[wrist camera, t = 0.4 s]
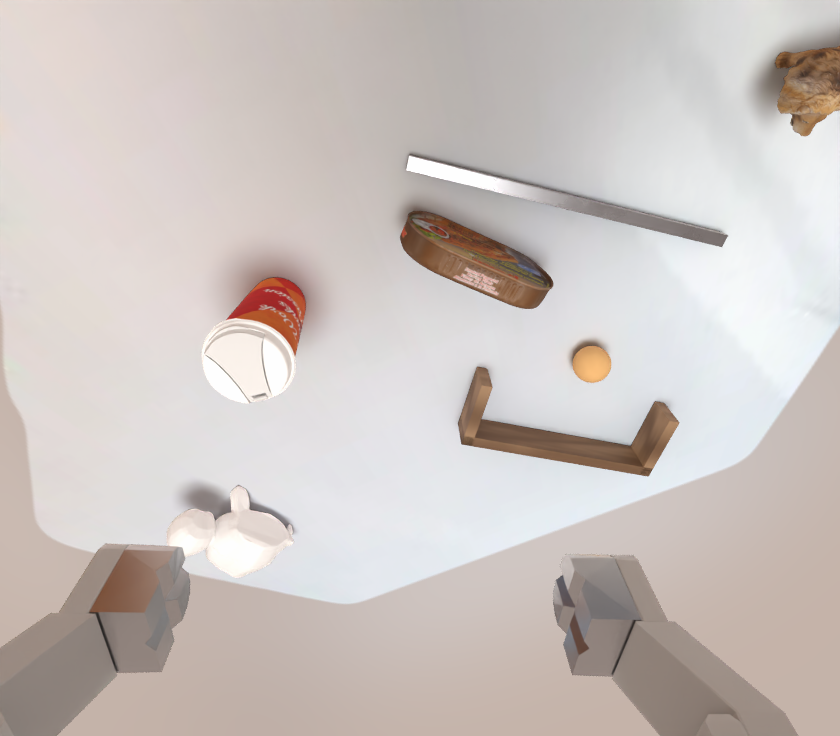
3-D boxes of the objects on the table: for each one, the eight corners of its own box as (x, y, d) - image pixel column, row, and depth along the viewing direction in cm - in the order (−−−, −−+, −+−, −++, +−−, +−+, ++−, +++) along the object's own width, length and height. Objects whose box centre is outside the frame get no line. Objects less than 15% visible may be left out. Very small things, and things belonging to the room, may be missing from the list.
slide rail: (409, 154, 49) (409, 156, 48) (721, 232, 53) (728, 235, 52) (406, 167, 49) (406, 170, 48) (715, 243, 54) (721, 247, 53)
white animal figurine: (294, 498, 73) (190, 472, 63) (303, 555, 67) (191, 536, 58) (257, 532, 76) (153, 512, 66) (263, 589, 70) (150, 577, 60)
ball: (576, 336, 59) (587, 353, 55) (609, 343, 59) (622, 360, 56) (563, 367, 61) (573, 385, 57) (595, 373, 61) (607, 392, 58)
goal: (476, 366, 60) (481, 385, 57) (664, 403, 63) (679, 422, 60) (458, 423, 64) (461, 444, 60) (635, 455, 67) (648, 476, 64)
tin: (544, 263, 55) (566, 294, 47) (528, 289, 56) (547, 323, 49) (409, 201, 51) (410, 224, 44) (396, 230, 52) (395, 258, 45)
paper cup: (326, 325, 57) (307, 396, 45) (259, 343, 58) (222, 418, 46) (299, 256, 53) (269, 313, 41) (227, 277, 54) (178, 339, 42)
